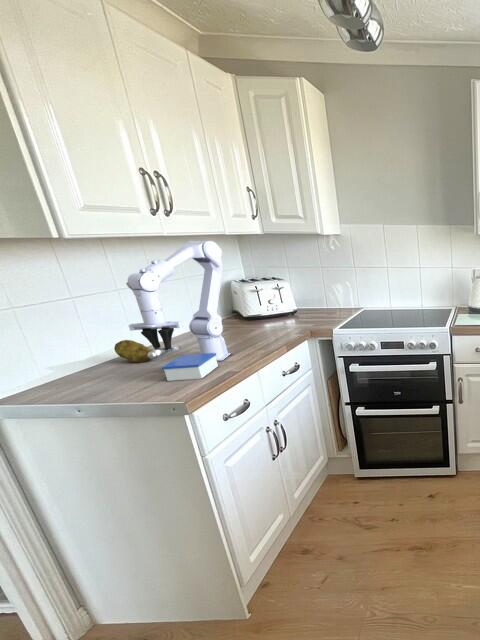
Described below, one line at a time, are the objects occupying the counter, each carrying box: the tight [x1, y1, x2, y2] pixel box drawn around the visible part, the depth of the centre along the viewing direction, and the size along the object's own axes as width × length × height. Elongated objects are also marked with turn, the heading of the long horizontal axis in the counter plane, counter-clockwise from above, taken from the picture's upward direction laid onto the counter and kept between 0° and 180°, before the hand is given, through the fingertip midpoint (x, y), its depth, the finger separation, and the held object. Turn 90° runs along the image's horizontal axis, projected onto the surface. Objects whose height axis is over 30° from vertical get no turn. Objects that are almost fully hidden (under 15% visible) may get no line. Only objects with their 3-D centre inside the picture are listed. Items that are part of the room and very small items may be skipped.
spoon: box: [148, 344, 182, 360], centre depth 143 cm, size 16×5×3 cm, turn 14°
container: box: [161, 353, 219, 382], centre depth 144 cm, size 15×11×5 cm
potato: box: [113, 339, 153, 363], centre depth 158 cm, size 8×13×8 cm, turn 65°
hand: (163, 349), depth 143 cm, fingers closed on spoon, 2 cm apart
